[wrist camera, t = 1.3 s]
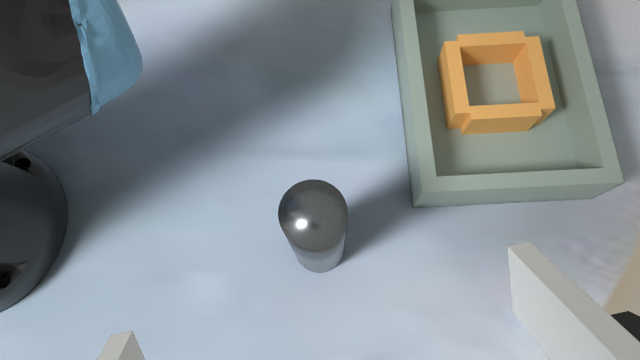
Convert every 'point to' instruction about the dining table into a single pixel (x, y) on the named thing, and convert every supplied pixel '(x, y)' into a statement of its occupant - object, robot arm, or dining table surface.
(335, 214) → the peg
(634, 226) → the dining table surface
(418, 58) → the walled box
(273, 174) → the dining table surface
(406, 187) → the dining table surface
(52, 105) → the robot arm
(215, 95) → the dining table surface
